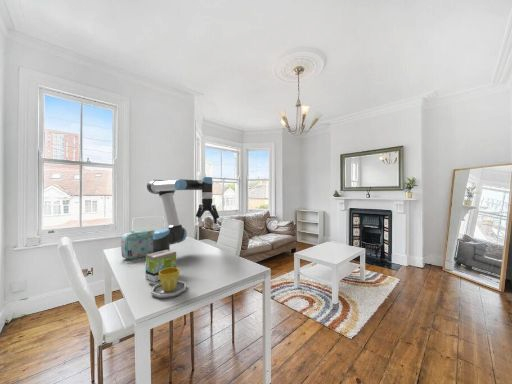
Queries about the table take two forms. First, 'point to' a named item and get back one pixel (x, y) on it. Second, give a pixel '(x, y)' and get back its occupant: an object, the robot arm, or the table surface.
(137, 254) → the lunch box
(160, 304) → the table surface
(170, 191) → the robot arm
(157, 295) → the octagonal handled pan
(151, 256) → the tea box
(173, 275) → the plant pot
